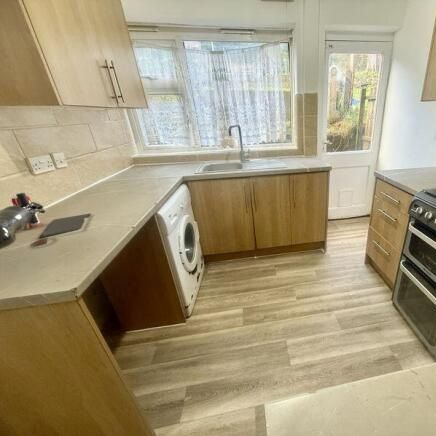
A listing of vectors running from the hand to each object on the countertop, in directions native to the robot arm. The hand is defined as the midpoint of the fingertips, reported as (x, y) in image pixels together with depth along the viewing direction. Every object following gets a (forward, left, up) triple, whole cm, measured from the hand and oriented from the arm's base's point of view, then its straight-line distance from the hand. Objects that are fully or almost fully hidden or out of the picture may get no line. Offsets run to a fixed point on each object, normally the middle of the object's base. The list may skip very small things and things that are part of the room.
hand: (29, 205), depth 96 cm
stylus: (0, -3, -8) cm, 8 cm away
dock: (0, -3, -16) cm, 16 cm away
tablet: (+5, +13, -16) cm, 21 cm away
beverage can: (-9, +21, -16) cm, 28 cm away
